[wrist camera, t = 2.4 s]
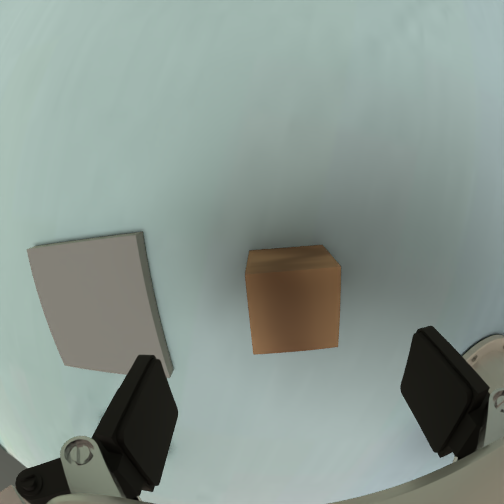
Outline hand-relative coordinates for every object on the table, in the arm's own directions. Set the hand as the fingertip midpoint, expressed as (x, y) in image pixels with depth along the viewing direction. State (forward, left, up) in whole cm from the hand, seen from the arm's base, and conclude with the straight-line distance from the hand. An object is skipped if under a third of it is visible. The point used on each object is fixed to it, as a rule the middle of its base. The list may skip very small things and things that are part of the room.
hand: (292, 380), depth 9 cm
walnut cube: (-1, 0, -11) cm, 11 cm away
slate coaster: (+15, +2, -11) cm, 19 cm away
